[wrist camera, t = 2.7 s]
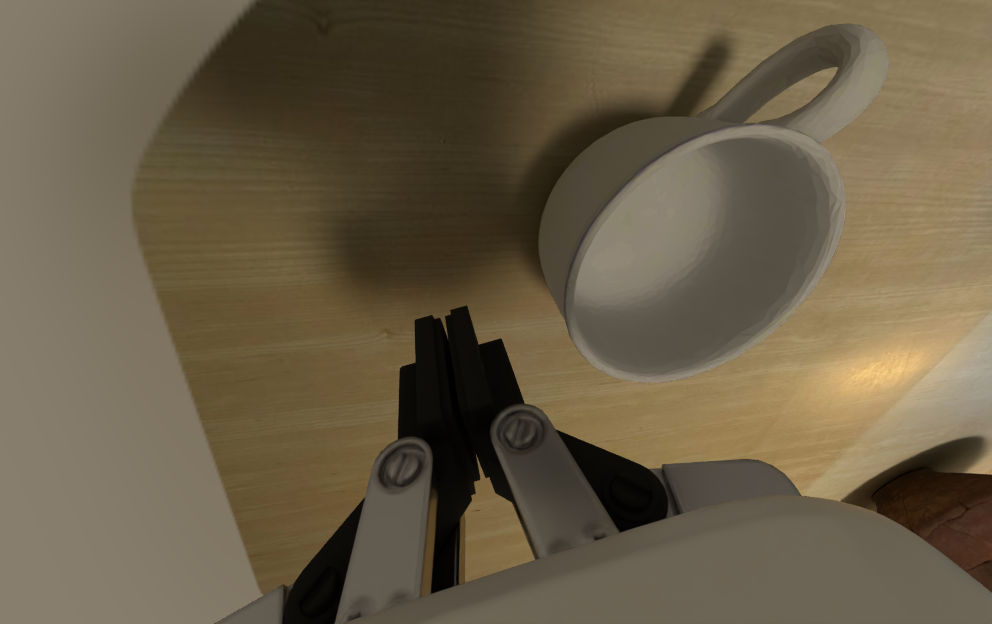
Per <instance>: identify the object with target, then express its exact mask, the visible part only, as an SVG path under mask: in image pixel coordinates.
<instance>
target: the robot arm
mask: <svg viewBox="0 0 992 624" xmlns="http://www.w3.org/2000/svg"><path fill="white" fill-rule="evenodd" d="M450 311H451V315H448V316H445V320H446V327H447V333H448V338H447V335H446V332H445V329H444V327H443V324H442V321H441V319H440V318H437V319H434V317H433V316H432V315H430V316H427V317H423V318H419V319H416V320H415V354H416V363H413V364H409V365H406V366H402V367H401V368H400V379H399V416H398V440H396V441H394V442H392V443H391V444H389V445H388V446H387V447H386V448H385V449H384V450H382V451H381V453H380V454H379V456H378V457H377V458H376V460H375V462H374V465H373V468H372V471H371V475H370V479H369V483H368V487H367V492H366V496H365V498H364V499H363V500H362V501H361V502H360V504H359V505H358V506H357V507H356V508H355V510H354V511H353V512H352V513H351V514H350V515H349V517H348V518H347V519H346V520H345V521H344V523H343V524H342V525H341V526H340V527H339V528H338V530H337V531H336V532H335V533H334V534H333V536H332V537H331V538H330V539H329V540H328V541H327V543H326V544H325V545H324V546H323V547H322V549H321V550H320V551H319V552H318V553H317V555H316V556H315V557H314V558H313V559H312V560H311V562H310V563H309V564H308V565H307V566H306V568H305V569H304V570H303V571H302V573H301V574H300V576H299V577H298V578H297V580H296V581H295V583H293V584H292V585H290V586H288V587H287V586H285V585H284V584H283V585H281V586H279V587H278V588H276V589H274V590H272V591H271V592H269V593H267V594H265V595H264V596H262V597H260V598H258V599H257V600H255V601H253V602H251V603H250V604H248V605H246V606H244V607H243V608H241V609H239V610H237V611H236V612H234V613H232V614H230V615H229V616H227V617H225V618H223V619H222V620H220V621H218V622H216V623H214V624H992V593H991V592H990V591H989V590H988V589H987V588H985V587H984V586H983V585H982V584H981V583H979V582H978V581H977V580H976V579H974V578H973V577H972V576H970V575H969V574H968V573H967V572H965V571H964V570H963V569H962V568H960V567H959V566H958V565H956V564H955V563H954V562H953V561H951V560H950V559H949V558H948V557H946V556H945V555H944V554H943V553H941V552H940V551H939V550H937V549H936V548H934V547H933V546H932V545H930V544H929V543H927V542H926V541H925V540H923V539H922V538H920V537H919V536H917V535H916V534H914V533H913V532H911V531H910V530H908V529H907V528H905V527H903V526H902V525H900V524H898V523H896V522H894V521H893V520H891V519H889V518H887V517H885V516H883V515H881V514H879V513H876V512H874V511H871V510H868V509H865V508H862V507H859V506H856V505H852V504H848V503H843V502H839V501H835V500H830V499H822V498H815V497H808V496H801V494H800V493H799V491H798V490H797V488H796V487H795V485H794V484H793V483H792V482H791V480H790V479H789V478H788V477H787V476H786V475H785V474H784V473H783V472H781V471H780V470H778V469H777V468H775V467H774V466H772V465H770V464H767V463H765V462H762V461H759V460H751V459H738V460H723V461H707V462H692V463H676V464H662V468H659V469H647V468H645V467H644V466H642V465H640V464H638V463H635V462H633V461H630V460H628V459H626V458H623V457H621V456H618V455H616V454H614V453H611V452H609V451H606V450H604V449H602V448H599V447H597V446H594V445H592V444H589V443H587V442H585V441H582V440H580V439H577V438H575V437H573V436H570V435H568V434H565V433H563V432H561V431H558V430H556V429H555V428H554V426H553V425H552V423H551V421H550V420H549V418H548V417H547V415H546V414H545V413H544V412H543V411H542V410H541V409H539V408H537V407H536V406H533V405H529V404H525V403H524V400H523V397H522V395H521V392H520V389H519V386H518V383H517V381H516V378H515V375H514V372H513V369H512V366H511V364H510V361H509V358H508V355H507V352H506V350H505V347H504V344H503V341H502V339H497V340H494V341H490V342H487V343H483V344H480V345H478V341H477V338H476V334H475V331H474V328H473V324H472V321H471V317H470V314H469V310H468V307H467V306H463V307H459V308H456V309H452V310H450ZM448 340H449V341H448ZM476 455H477V457H478V460H479V462H480V465H481V467H482V470H483V472H484V475H485V477H486V478H488V477H490V480H491V483H492V485H493V488H494V490H495V493H496V494H498V495H500V496H502V497H503V498H505V499H507V500H509V501H510V502H512V504H513V507H514V509H515V511H516V514H517V516H518V519H519V521H520V524H521V526H522V529H523V531H524V534H525V536H526V539H527V541H528V543H529V546H530V548H531V551H532V553H533V556H534V558H535V560H534V561H531V562H528V563H525V564H522V565H518V566H515V567H512V568H509V569H506V570H503V571H500V572H497V573H494V574H491V575H488V576H485V577H482V578H479V579H475V580H472V581H469V582H466V583H465V514H464V512H465V510H466V509H467V507H468V506H469V504H470V503H471V501H472V497H471V495H473V494H476V492H475V486H474V482H475V481H478V480H480V474H479V468H478V463H477V457H476Z"/></svg>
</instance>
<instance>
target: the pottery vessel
mask: <svg viewBox="0 0 992 624" xmlns="http://www.w3.org/2000/svg"><path fill="white" fill-rule="evenodd" d="M872 500H873V501H874V503H875V504H876V506H877V513H879V514H881V515H883V516H885V517H887V518H889V519H891V520H893V521H894V522H896V523H898V524H900V525H902V526H903V527H905V528H907V529H908V530H910V531H911V532H913V533H914V534H916V535H917V536H919V537H920V538H922V539H923V540H925V541H926V542H927V543H929V544H930V545H932V546H933V547H934V548H936V549H937V550H939V551H940V552H941V553H943V554H944V555H945V556H946V557H948V558H949V559H950V560H951V561H953V562H954V563H955V564H956V565H958V566H959V567H960V568H962V569H963V570H964V571H965V572H967V573H968V574H969V575H970V576H972V577H973V578H974V579H976V580H977V581H978V582H979V583H981V584H982V585H983V586H984V587H985V588H987V589H988V590H989V591H990V592H991V593H992V475H988V474H973V473H953V472H952V473H942V472H936V471H934V470H932V469H930V468H924V469H920V470H916V471H913V472H911V473H908V474H906V475H903V476H901V477H899V478H897V479H896V480H894V481H892V482H890V483H889V484H887V485H886V486H884V487H883V488H881V489H880V490H879V491H877V492H876V493H875V494H874V495H873V497H872Z"/></svg>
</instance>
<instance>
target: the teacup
mask: <svg viewBox="0 0 992 624" xmlns="http://www.w3.org/2000/svg"><path fill="white" fill-rule="evenodd" d="M831 67H838V70H837V72H836V75H835V76H834V77H833V79H832V80H831V81H830V83H829V84H828V85H827V87H826V88H824V89H823V90H822V91H821V92H820V93H819V94H818V95H817V96H816V97H815V98H814V99H813V100H812V101H811V102H810V103H808V104H806V105H805V106H803V107H802V108H800V109H798V110H796V111H794V112H792V113H790V114H788V115H785V116H783V117H780V118H778V119H773V120H767V121H762V122H759V123H744V122H745V121H746V120H747V119H748V118H749V117H751V116H752V115H753V114H754V113H755V112H756V111H758V110H759V109H760V108H761V107H762V106H763V105H765V104H766V103H767V102H769V101H770V100H771V99H773V98H774V97H775V96H777V95H778V94H780V93H781V92H782V91H784V90H785V89H787V88H788V87H790V86H792V85H793V84H795V83H797V82H799V81H800V80H802V79H804V78H806V77H808V76H810V75H812V74H814V73H816V72H818V71H820V70H823V69H827V68H831ZM888 68H889V58H888V51H887V48H886V46H885V44H884V42H883V41H882V40H881V39H880V38H879V37H878V36H877V35H876V34H874V33H873V32H872V31H871V30H870V29H868V28H865V27H863V26H860V25H855V24H837V25H829V26H826V27H823V28H820V29H818V30H815V31H813V32H810V33H808V34H806V35H804V36H801V37H799V38H797V39H796V40H794V41H792V42H791V43H789V44H788V45H786V46H784V47H783V48H781V49H780V50H778V51H777V52H776V53H774V54H773V55H771V56H770V57H768V58H767V59H766V60H764V61H763V62H761V63H760V64H759V65H758V66H757V67H756V68H755V69H753V70H752V71H751V72H750V73H749V74H748V75H746V76H745V77H744V78H743V79H742V80H741V81H740V82H739V83H738V84H736V85H735V86H734V87H733V88H732V89H731V90H730V91H729V92H728V93H727V94H726V95H725V96H724V97H722V98H721V99H720V100H719V101H718V102H717V103H716V104H715V105H713V106H711V107H709V108H707V109H706V110H704V111H702V112H700V113H699V114H698V115H697V116H696V117H695V118H693V117H656V118H649V119H644V120H640V121H636V122H633V123H630V124H627V125H625V126H622V127H620V128H617V129H615V130H613V131H612V132H610V133H608V134H606V135H605V136H603V137H601V138H600V139H598V140H596V141H595V142H594V143H593V144H591V145H590V146H589V147H588V148H586V149H585V150H584V151H583V152H582V153H581V154H579V155H578V156H577V157H576V158H575V159H574V160H573V161H572V163H571V164H570V165H569V166H568V167H567V168H566V170H565V171H564V172H563V174H562V175H561V177H560V178H559V179H558V181H557V183H556V185H555V186H554V188H553V190H552V192H551V194H550V196H549V198H548V200H547V203H546V205H545V208H544V211H543V215H542V219H541V224H540V230H539V256H540V262H541V268H542V271H543V274H544V277H545V280H546V283H547V285H548V287H549V290H550V292H551V294H552V297H553V298H554V300H555V302H556V304H557V306H558V308H559V310H560V312H561V314H562V316H563V318H564V319H565V321H566V325H567V328H568V332H569V336H570V338H571V339H572V341H573V343H574V345H575V346H576V348H577V349H578V351H579V352H580V354H581V355H582V356H583V357H584V358H585V359H586V360H587V361H589V362H590V363H591V364H592V365H593V366H594V367H595V368H597V369H599V370H601V371H602V372H604V373H606V374H608V375H610V376H612V377H614V378H616V379H623V380H627V381H633V382H640V383H651V382H667V381H673V380H678V379H683V378H687V377H691V376H694V375H697V374H700V373H702V372H705V371H707V370H709V369H712V368H715V367H717V366H720V365H722V364H724V363H727V362H728V361H730V360H732V359H734V358H736V357H738V356H740V355H741V354H742V353H744V352H745V351H747V350H749V349H750V348H752V347H754V346H755V345H756V344H758V343H760V342H762V341H763V340H764V339H765V338H766V337H767V336H768V335H770V334H771V333H773V332H774V331H775V330H776V329H777V328H778V327H779V326H780V325H781V324H782V323H784V322H785V321H786V320H787V319H788V318H789V317H790V316H791V315H792V314H793V313H794V312H795V311H796V310H797V308H798V307H799V306H800V304H801V303H802V302H803V301H804V300H805V299H806V298H807V297H808V296H809V294H810V293H811V292H812V291H813V289H814V288H815V286H816V285H817V283H818V282H819V281H820V279H821V278H822V276H823V275H824V273H825V271H826V269H827V267H828V266H829V264H830V262H831V260H832V258H833V255H834V253H835V251H836V248H837V246H838V243H839V240H840V238H841V234H842V230H843V226H844V222H845V220H844V218H845V211H846V194H845V188H844V184H843V181H842V178H841V175H840V172H839V170H838V168H837V166H836V164H835V161H834V160H833V158H832V156H831V155H830V153H829V152H828V151H827V150H826V149H825V148H824V147H823V146H822V145H821V144H820V143H821V142H823V141H825V140H827V139H828V138H830V137H831V136H833V135H834V134H835V133H837V132H838V131H840V130H841V129H843V128H844V127H845V126H847V125H848V124H849V123H851V122H852V121H853V120H854V119H855V118H856V117H857V116H858V115H859V114H860V113H861V112H862V111H864V110H865V109H866V108H867V107H868V106H869V105H870V103H871V102H872V101H873V99H874V98H875V97H876V95H877V94H878V93H879V91H880V89H881V87H882V86H883V83H884V81H885V78H886V75H887V72H888Z"/></svg>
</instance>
